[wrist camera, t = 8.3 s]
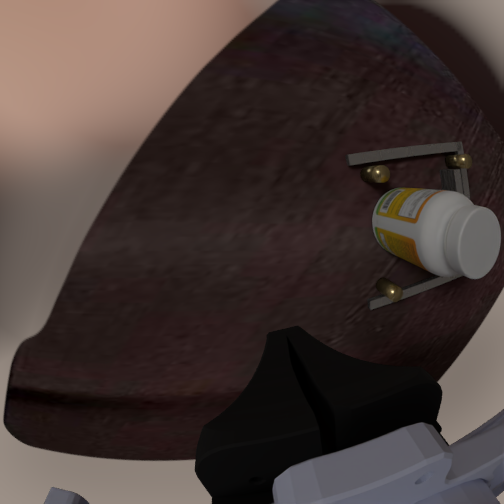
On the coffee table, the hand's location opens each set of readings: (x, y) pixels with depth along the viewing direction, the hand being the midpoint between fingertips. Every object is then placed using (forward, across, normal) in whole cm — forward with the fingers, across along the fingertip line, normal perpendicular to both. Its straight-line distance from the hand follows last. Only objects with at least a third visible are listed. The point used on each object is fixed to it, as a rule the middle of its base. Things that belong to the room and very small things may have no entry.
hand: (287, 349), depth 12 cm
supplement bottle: (+11, -12, -2) cm, 16 cm away
